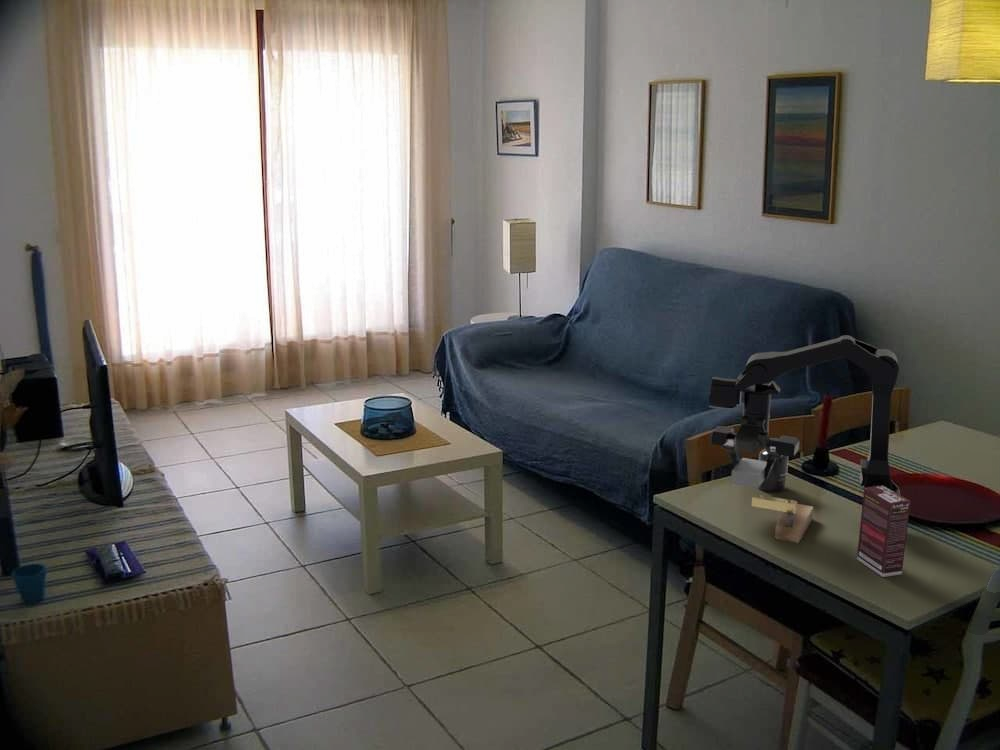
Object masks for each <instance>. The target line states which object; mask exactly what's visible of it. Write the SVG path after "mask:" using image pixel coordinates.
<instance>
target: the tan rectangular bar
mask: <svg viewBox="0 0 1000 750" xmlns="http://www.w3.org/2000/svg"><path fill="white" fill-rule="evenodd" d="M797 504H798V501H797V500H794V499H785V498H781V497H780V498H778V497H774V496H773V497H772V496H766V495H761V494H753V496H752V498H751V507H754V508H761V509H766V510H772V511H779V512H783V513H784V512H787V513H796V511H797Z"/></svg>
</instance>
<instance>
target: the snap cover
mask: <svg viewBox="0 0 1000 750" xmlns="http://www.w3.org/2000/svg"><path fill="white" fill-rule="evenodd" d="M766 464H767V462H766V461H760V460H759V459H752V458H747V457H742V458H740V462H739V463H738V464H737V465H736V466H735V468H734V467H733V469H732V470H731V480H730V483H731V484H734V485H739V486H743V487H750V488H755V489H756V488H757V489H759V486H760V485H761V484H762V482H763V481H764V480H765V469H766Z"/></svg>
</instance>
